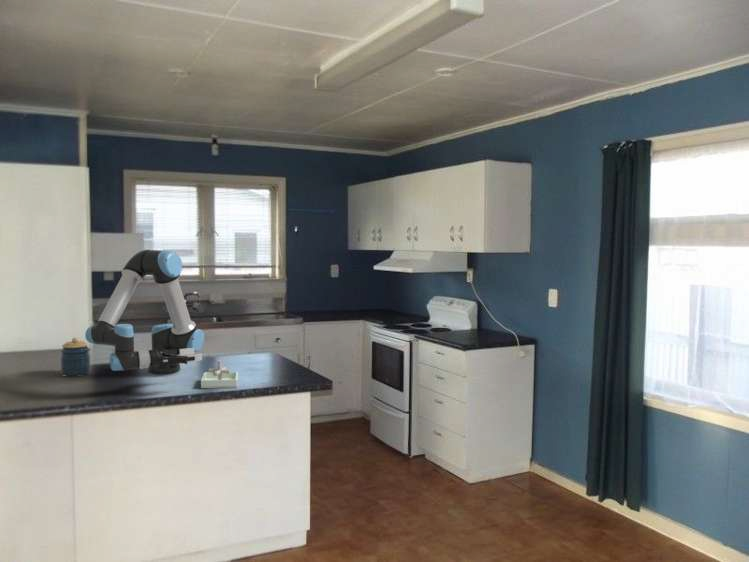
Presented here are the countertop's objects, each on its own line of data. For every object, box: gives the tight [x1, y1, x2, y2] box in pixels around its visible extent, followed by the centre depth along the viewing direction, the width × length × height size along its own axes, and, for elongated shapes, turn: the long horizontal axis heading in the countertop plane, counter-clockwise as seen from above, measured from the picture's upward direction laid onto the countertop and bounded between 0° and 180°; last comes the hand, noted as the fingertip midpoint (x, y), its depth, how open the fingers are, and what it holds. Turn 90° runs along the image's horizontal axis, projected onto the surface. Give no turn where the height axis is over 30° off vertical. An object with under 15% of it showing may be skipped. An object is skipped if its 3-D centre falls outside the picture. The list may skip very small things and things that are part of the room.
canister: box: [59, 337, 91, 377], centre depth 306 cm, size 13×13×18 cm
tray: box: [200, 371, 239, 389], centre depth 295 cm, size 16×16×4 cm
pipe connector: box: [208, 359, 232, 380], centre depth 294 cm, size 10×10×10 cm
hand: (198, 353), depth 288 cm, fingers open, 13 cm apart
